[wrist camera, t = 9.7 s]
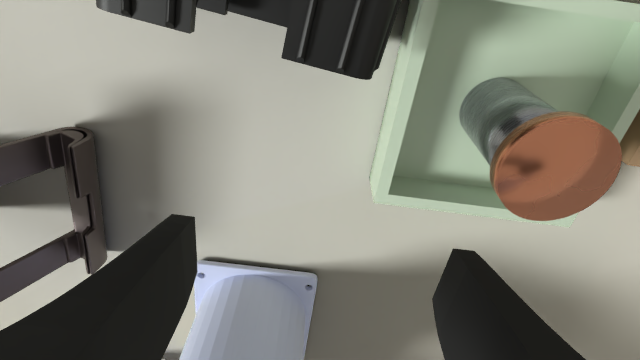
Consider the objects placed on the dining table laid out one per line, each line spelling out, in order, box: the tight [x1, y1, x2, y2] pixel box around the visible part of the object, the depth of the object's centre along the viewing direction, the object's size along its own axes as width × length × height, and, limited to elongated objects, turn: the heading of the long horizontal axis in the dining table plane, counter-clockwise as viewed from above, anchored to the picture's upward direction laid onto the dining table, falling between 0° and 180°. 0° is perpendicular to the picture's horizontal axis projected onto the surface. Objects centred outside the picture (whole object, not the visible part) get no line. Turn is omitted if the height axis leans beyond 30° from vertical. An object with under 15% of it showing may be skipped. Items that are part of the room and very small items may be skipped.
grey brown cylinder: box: [459, 77, 622, 221], centre depth 16 cm, size 4×4×6 cm
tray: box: [369, 0, 640, 227], centre depth 18 cm, size 10×10×2 cm
